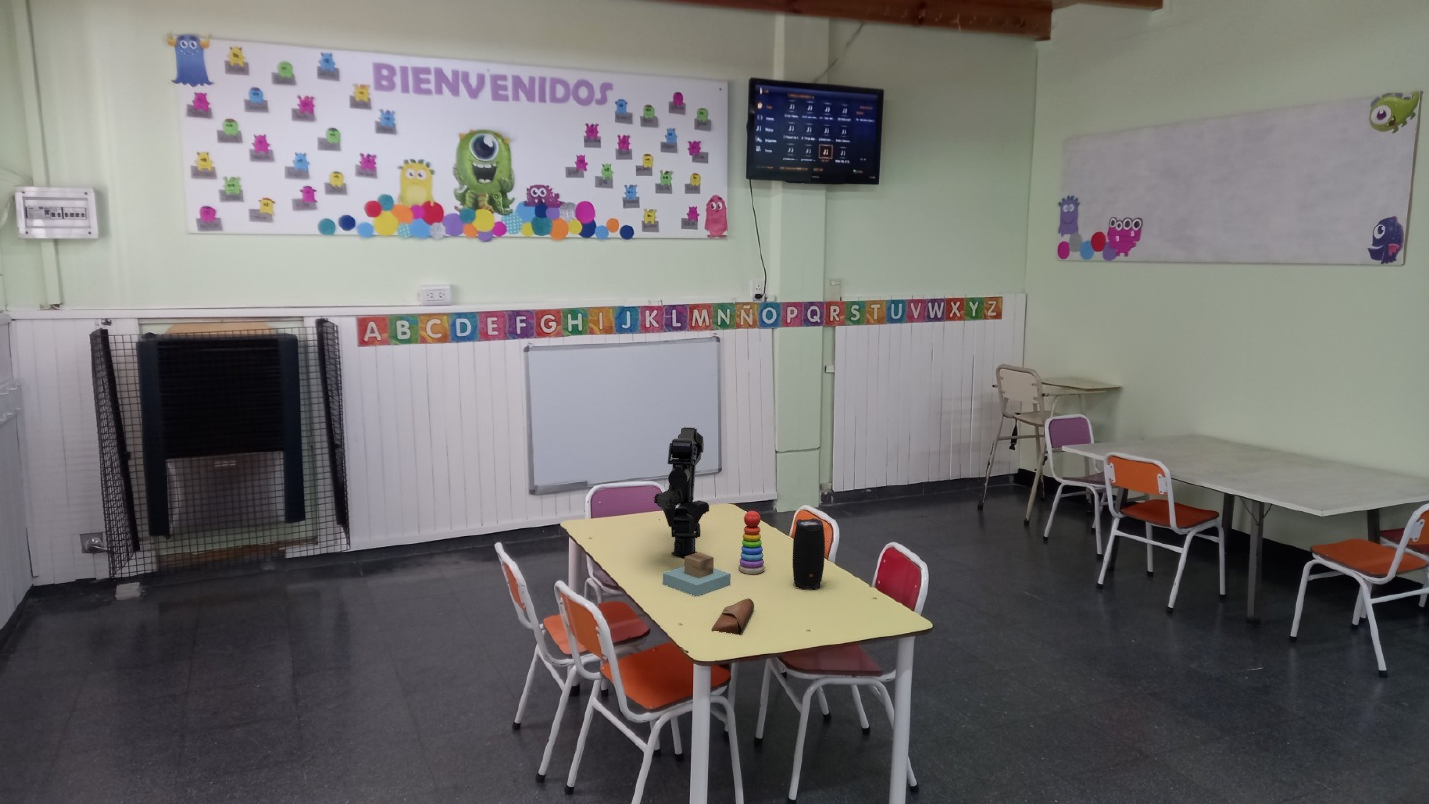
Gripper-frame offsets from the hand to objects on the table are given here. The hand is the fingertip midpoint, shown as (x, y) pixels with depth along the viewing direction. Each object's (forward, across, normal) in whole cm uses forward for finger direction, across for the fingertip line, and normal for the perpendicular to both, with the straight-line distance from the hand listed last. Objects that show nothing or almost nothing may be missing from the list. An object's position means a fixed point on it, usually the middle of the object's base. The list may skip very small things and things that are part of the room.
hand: (680, 530), depth 291 cm
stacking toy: (+12, +17, +14) cm, 25 cm away
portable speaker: (+12, +37, +16) cm, 42 cm away
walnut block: (+9, +14, -7) cm, 18 cm away
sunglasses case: (+13, +40, -19) cm, 46 cm away
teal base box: (+13, +14, -7) cm, 20 cm away
